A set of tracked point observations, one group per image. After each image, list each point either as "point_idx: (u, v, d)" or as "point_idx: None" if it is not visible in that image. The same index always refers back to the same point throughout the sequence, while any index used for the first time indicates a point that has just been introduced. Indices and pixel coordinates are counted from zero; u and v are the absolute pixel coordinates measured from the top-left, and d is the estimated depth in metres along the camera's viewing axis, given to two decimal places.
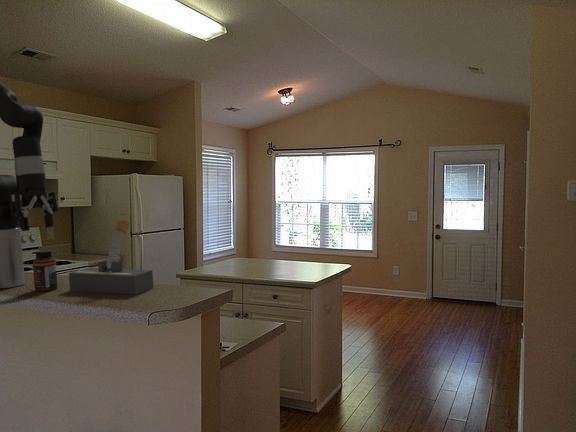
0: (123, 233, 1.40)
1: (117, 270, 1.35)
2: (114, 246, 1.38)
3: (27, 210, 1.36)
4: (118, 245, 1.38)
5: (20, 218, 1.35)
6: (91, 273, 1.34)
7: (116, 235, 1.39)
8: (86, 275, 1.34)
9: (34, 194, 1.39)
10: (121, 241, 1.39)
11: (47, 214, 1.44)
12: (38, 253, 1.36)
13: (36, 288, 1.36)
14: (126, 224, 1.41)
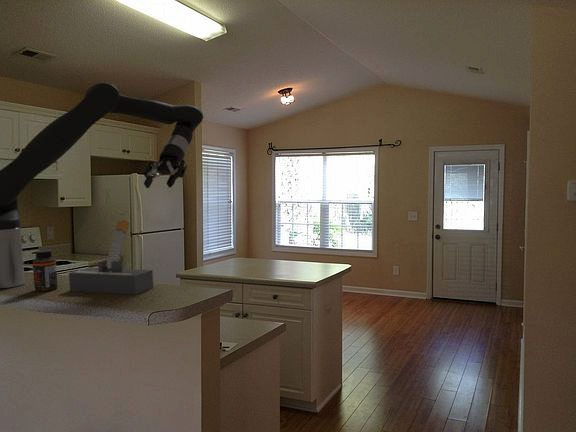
0: (123, 233, 1.40)
1: (117, 270, 1.35)
2: (114, 246, 1.38)
3: None
4: (118, 245, 1.38)
5: (175, 177, 1.58)
6: (91, 273, 1.34)
7: (116, 235, 1.39)
8: (86, 275, 1.34)
9: None
10: (121, 241, 1.39)
11: (151, 178, 1.61)
12: (38, 253, 1.36)
13: (36, 288, 1.36)
14: (126, 224, 1.41)
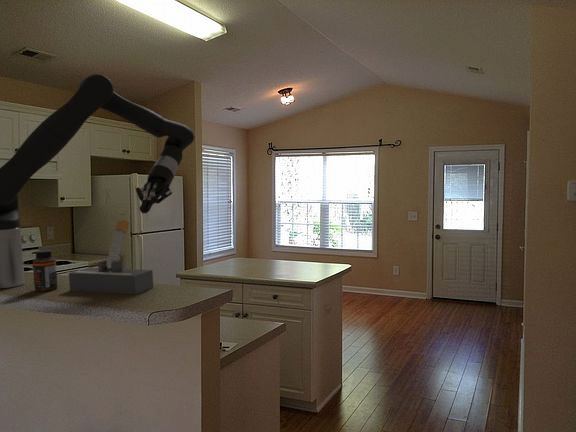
0: (123, 233, 1.40)
1: (117, 270, 1.35)
2: (114, 246, 1.38)
3: None
4: (118, 245, 1.38)
5: (151, 202, 1.53)
6: (91, 273, 1.34)
7: (116, 235, 1.39)
8: (86, 275, 1.34)
9: None
10: (121, 241, 1.39)
11: None
12: (38, 253, 1.36)
13: (36, 288, 1.36)
14: (126, 224, 1.41)
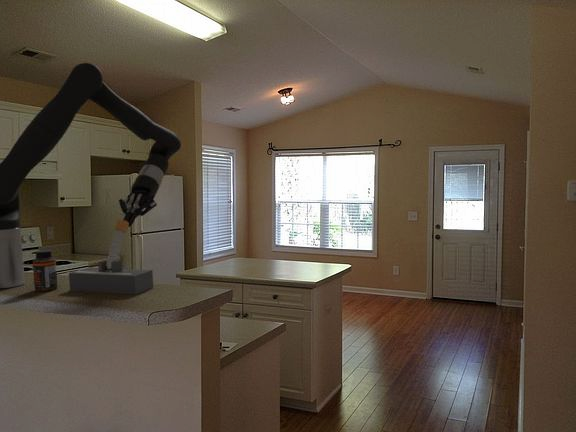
0: (123, 233, 1.40)
1: (117, 270, 1.35)
2: (114, 246, 1.38)
3: None
4: (118, 245, 1.38)
5: (135, 215, 1.45)
6: (91, 273, 1.34)
7: (116, 235, 1.39)
8: (86, 275, 1.34)
9: None
10: (121, 241, 1.39)
11: None
12: (38, 253, 1.36)
13: (36, 288, 1.36)
14: (126, 224, 1.41)
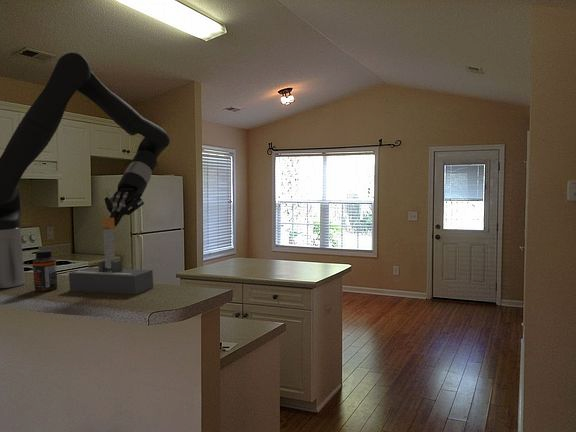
0: (111, 230, 1.36)
1: (117, 270, 1.35)
2: (107, 246, 1.35)
3: None
4: (111, 244, 1.35)
5: (121, 214, 1.39)
6: (91, 273, 1.34)
7: (105, 234, 1.35)
8: (86, 275, 1.34)
9: None
10: (112, 239, 1.36)
11: None
12: (38, 253, 1.36)
13: (36, 288, 1.36)
14: (111, 221, 1.35)
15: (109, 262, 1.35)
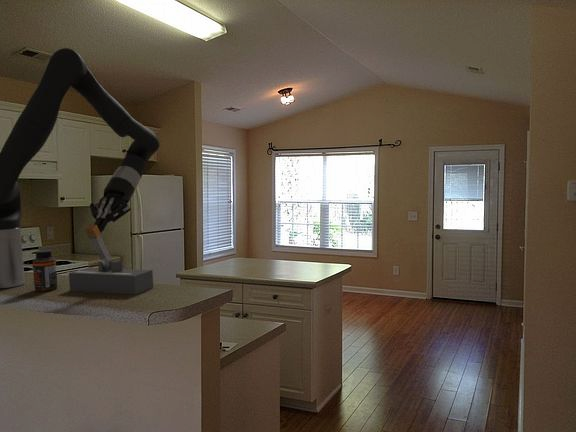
0: (99, 237, 1.31)
1: (117, 270, 1.35)
2: (100, 252, 1.33)
3: None
4: (103, 250, 1.32)
5: (106, 221, 1.33)
6: (91, 273, 1.34)
7: (94, 242, 1.31)
8: (86, 275, 1.34)
9: None
10: (102, 244, 1.32)
11: None
12: (38, 253, 1.36)
13: (36, 288, 1.36)
14: (95, 229, 1.29)
15: (108, 265, 1.35)
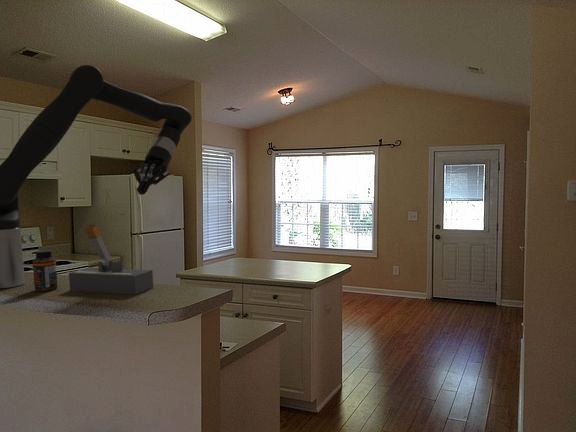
0: (99, 237, 1.31)
1: (117, 270, 1.35)
2: (100, 252, 1.33)
3: None
4: (103, 250, 1.32)
5: (148, 184, 1.51)
6: (91, 273, 1.34)
7: (94, 242, 1.31)
8: (86, 275, 1.34)
9: None
10: (102, 244, 1.32)
11: None
12: (38, 253, 1.36)
13: (36, 288, 1.36)
14: (95, 229, 1.29)
15: (108, 265, 1.35)
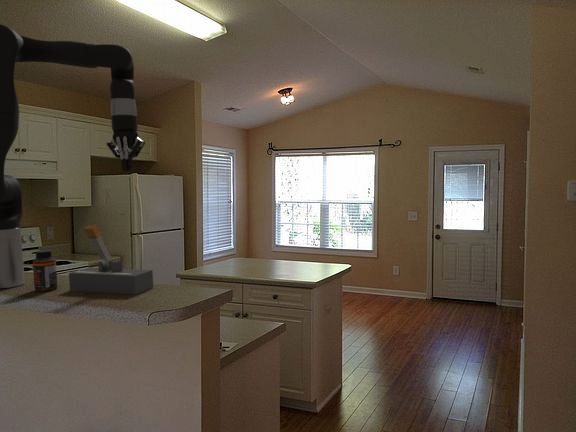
0: (99, 237, 1.31)
1: (117, 270, 1.35)
2: (100, 252, 1.33)
3: None
4: (103, 250, 1.32)
5: (130, 159, 1.49)
6: (91, 273, 1.34)
7: (94, 242, 1.31)
8: (86, 275, 1.34)
9: None
10: (102, 244, 1.32)
11: None
12: (38, 253, 1.36)
13: (36, 288, 1.36)
14: (95, 229, 1.29)
15: (108, 265, 1.35)
